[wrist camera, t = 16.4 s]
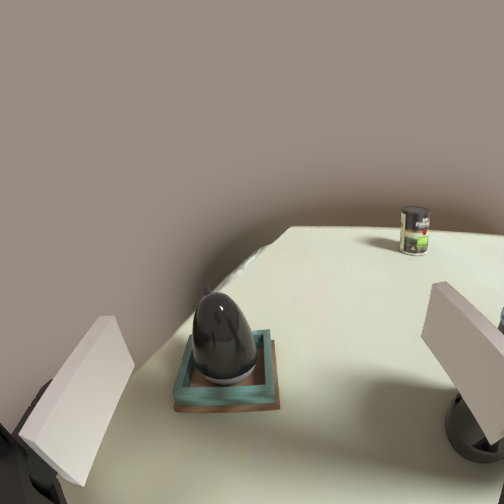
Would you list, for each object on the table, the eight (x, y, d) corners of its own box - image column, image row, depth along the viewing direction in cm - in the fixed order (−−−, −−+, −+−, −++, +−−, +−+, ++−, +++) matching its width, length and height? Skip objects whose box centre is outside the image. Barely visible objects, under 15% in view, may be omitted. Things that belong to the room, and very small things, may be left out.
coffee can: (432, 252, 80) (436, 211, 75) (411, 258, 79) (415, 214, 74) (414, 243, 90) (416, 204, 85) (393, 247, 88) (395, 207, 83)
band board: (274, 343, 52) (272, 327, 50) (280, 408, 37) (279, 392, 35) (192, 348, 52) (187, 332, 51) (175, 411, 38) (167, 395, 36)
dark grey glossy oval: (245, 346, 51) (234, 272, 45) (271, 380, 41) (262, 299, 36) (192, 363, 47) (171, 289, 42) (210, 403, 38) (185, 323, 33)
